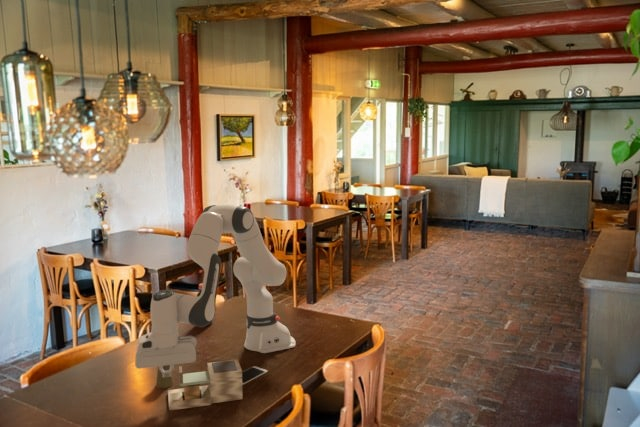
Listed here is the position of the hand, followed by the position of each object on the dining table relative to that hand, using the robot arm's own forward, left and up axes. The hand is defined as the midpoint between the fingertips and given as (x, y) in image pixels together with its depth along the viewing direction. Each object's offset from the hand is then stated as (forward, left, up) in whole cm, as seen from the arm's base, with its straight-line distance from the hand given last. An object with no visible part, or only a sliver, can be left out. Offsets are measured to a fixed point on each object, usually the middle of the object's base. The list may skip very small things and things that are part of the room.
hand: (166, 376), depth 189 cm
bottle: (-19, -74, -10) cm, 77 cm away
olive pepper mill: (+1, -14, -10) cm, 17 cm away
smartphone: (-30, -13, -10) cm, 34 cm away
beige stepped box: (-13, 0, -10) cm, 16 cm away
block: (-8, 0, -10) cm, 13 cm away
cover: (-11, 0, -3) cm, 11 cm away
